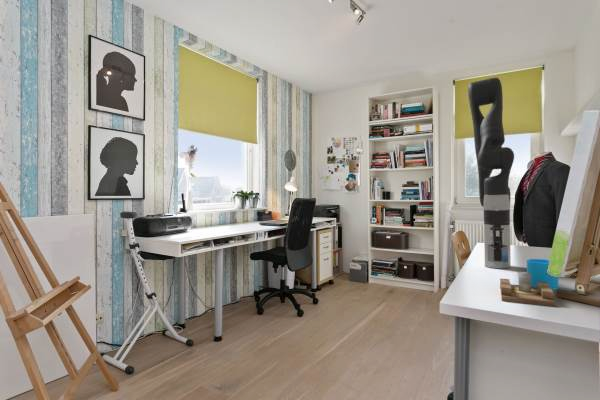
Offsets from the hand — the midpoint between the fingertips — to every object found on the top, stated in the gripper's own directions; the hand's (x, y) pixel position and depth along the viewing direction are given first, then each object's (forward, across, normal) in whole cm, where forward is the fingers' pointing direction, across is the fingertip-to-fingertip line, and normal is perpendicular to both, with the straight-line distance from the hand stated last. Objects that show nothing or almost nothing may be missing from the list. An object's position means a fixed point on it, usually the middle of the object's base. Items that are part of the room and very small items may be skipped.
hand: (497, 258), depth 116 cm
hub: (+1, 0, 0) cm, 1 cm away
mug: (+9, -2, +12) cm, 15 cm away
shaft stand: (+8, +14, +6) cm, 17 cm away
